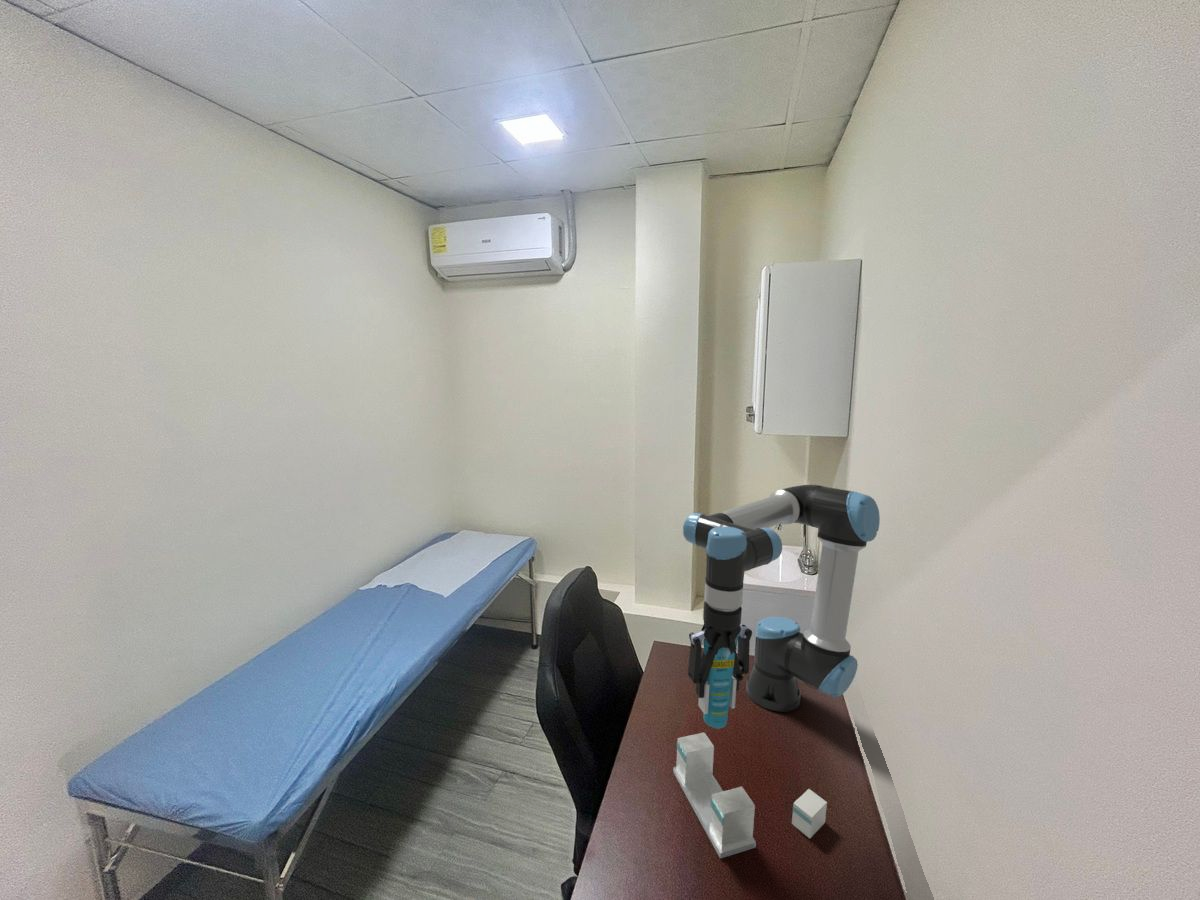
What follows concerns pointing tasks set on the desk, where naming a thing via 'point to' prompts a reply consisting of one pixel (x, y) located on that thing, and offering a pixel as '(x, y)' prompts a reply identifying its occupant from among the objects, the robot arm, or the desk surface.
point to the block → (809, 813)
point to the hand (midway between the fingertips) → (716, 706)
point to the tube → (719, 686)
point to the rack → (714, 798)
